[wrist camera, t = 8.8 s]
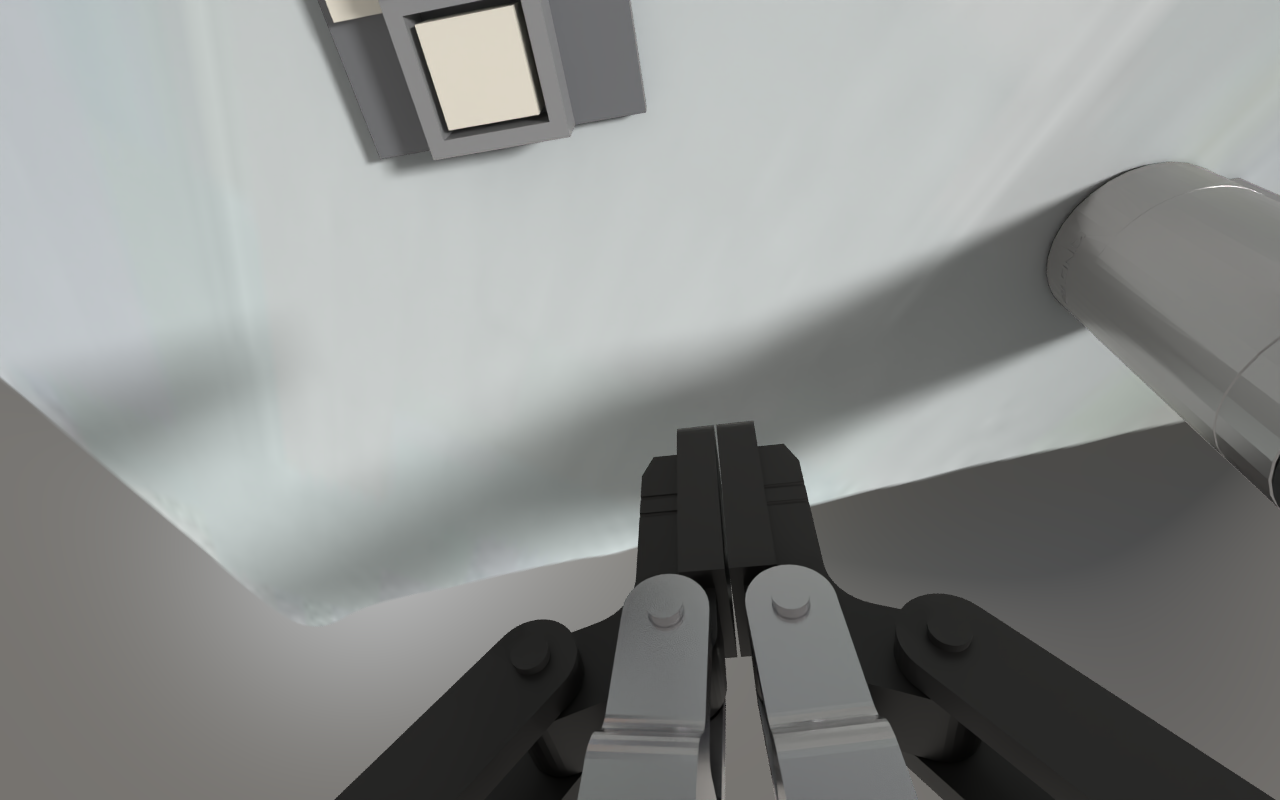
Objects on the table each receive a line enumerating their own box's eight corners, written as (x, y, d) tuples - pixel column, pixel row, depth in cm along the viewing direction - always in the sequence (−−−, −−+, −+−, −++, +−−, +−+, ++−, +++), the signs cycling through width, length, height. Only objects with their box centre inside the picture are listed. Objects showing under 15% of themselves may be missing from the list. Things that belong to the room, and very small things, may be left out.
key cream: (520, 0, 29) (512, 5, 28) (545, 104, 32) (539, 114, 30) (427, 19, 30) (414, 24, 28) (459, 120, 32) (448, 130, 31)
